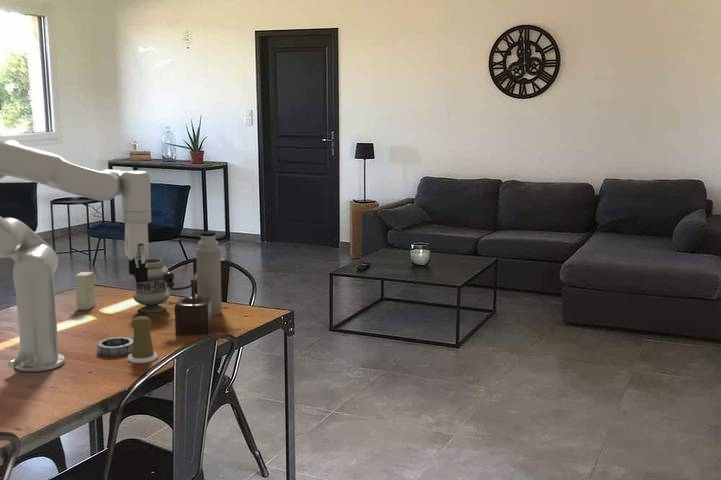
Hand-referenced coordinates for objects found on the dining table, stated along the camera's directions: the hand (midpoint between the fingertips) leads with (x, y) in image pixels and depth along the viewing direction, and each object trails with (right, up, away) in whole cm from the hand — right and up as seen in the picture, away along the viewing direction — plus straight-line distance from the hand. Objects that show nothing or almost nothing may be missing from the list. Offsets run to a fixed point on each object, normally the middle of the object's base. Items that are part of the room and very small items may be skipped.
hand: (138, 277), depth 208 cm
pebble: (0, -23, +4) cm, 23 cm away
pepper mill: (+6, -18, +31) cm, 37 cm away
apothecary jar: (-10, -14, +51) cm, 54 cm away
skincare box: (-34, -13, +55) cm, 66 cm away
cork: (0, -22, +5) cm, 23 cm away
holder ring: (-10, -22, +10) cm, 26 cm away
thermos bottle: (+10, -15, +51) cm, 54 cm away
